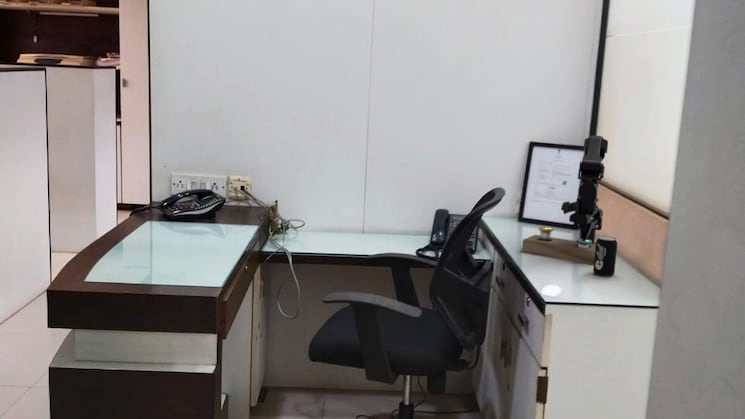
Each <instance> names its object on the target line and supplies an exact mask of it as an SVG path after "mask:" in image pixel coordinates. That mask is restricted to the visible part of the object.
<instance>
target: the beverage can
mask: <svg viewBox="0 0 745 419" xmlns="http://www.w3.org/2000/svg"><path fill="white" fill-rule="evenodd" d="M617 240H618V239H617V238H616V237H614V236H609V235H598V236H597V239H596V240H595V242H596V247H595V257H594V265H593V268H592V269H593V272H594V274H595V275H598V276H601V277H612V276H613V275H614V274H615V270H616V261H617V250H618V242H617Z"/></svg>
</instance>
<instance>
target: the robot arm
mask: <svg viewBox="0 0 745 419" xmlns="http://www.w3.org/2000/svg"><path fill="white" fill-rule="evenodd" d="M608 146H609V141H608V140H607V139H605V138H604V136H602V135H593V134H591V135H588V137H587V138H585V139H584V141H583V152H585V153H584V155H583V156H582V159H581V160H582V161H580V162H579V168H578V172H577V173H578V174H577V180H581V181H580V185H579V188H578V194H579V197H577V198H576V201H572V202H570V201H564V202H563V203H562V205H561V209H560V210H561V211H562V212H563V214H564V215H566V214H567V215H568V213H572V214H570V215H569V222H570V223H575V224H576V229H579V237H578V238H582V239H583V240H586V239H591V240H592V242H591V244H596V234H597V233H596V232H597V231H600V230H602V229H603V228H602V226H603V218H602V217H603V216H604V211H603V210H602V208H599V205H598V204H597V203H598V202H599V198H598V190H599V189H598V188H599V182H601V181H602V179H604V176H605V174H604V173H605V169H606V168H605V166H604V163H603V160H604V159H605V158H606V157H605V156H606V154H607V153H608V148H609V147H608Z"/></svg>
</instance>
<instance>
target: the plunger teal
mask: <svg viewBox="0 0 745 419" xmlns="http://www.w3.org/2000/svg"><path fill="white" fill-rule="evenodd" d="M576 241H577V243H578V247H584V248H589V244H591V242H592V240H591V239H586V240H583V239H582V238H579V237H578V238H576Z"/></svg>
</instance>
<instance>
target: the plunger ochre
mask: <svg viewBox="0 0 745 419" xmlns="http://www.w3.org/2000/svg"><path fill="white" fill-rule="evenodd" d="M538 231H540V232H539V235H540V240H541V241H547V242H550V237H552V236H551V235H552V234H551V233H553V231H554V227H553V226H547V225H539V226H538Z"/></svg>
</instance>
